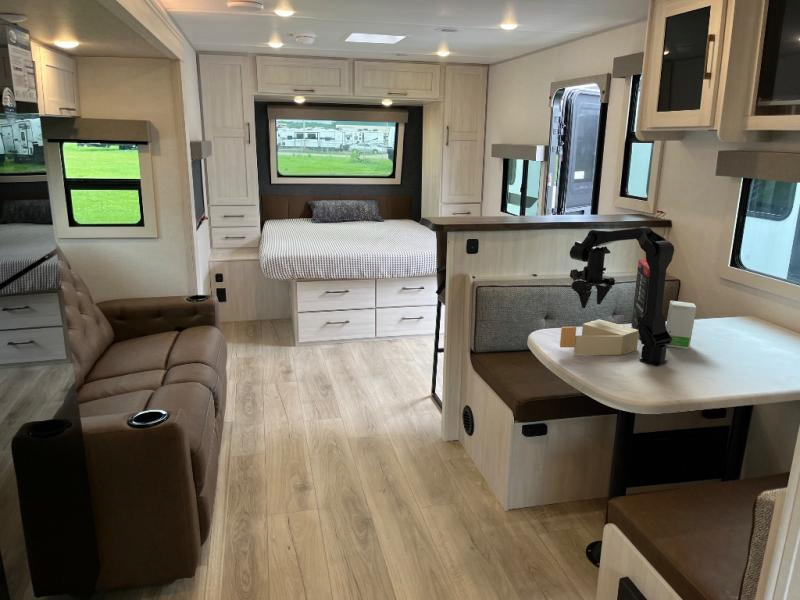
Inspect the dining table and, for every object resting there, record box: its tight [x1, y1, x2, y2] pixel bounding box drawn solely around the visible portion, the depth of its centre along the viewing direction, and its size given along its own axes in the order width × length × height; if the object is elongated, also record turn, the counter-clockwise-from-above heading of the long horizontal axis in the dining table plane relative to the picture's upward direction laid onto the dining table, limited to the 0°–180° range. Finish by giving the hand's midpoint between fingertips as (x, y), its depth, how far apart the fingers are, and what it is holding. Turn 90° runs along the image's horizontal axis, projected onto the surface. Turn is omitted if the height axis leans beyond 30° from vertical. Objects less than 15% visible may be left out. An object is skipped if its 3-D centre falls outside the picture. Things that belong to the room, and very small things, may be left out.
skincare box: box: [666, 300, 697, 350], centre depth 210 cm, size 8×7×16 cm
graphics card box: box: [631, 259, 667, 341], centre depth 221 cm, size 17×7×27 cm, turn 171°
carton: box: [581, 319, 639, 356], centre depth 209 cm, size 16×10×7 cm, turn 38°
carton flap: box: [559, 326, 623, 356], centre depth 199 cm, size 21×1×10 cm, turn 93°
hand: (591, 306), depth 216 cm, fingers open, 9 cm apart
